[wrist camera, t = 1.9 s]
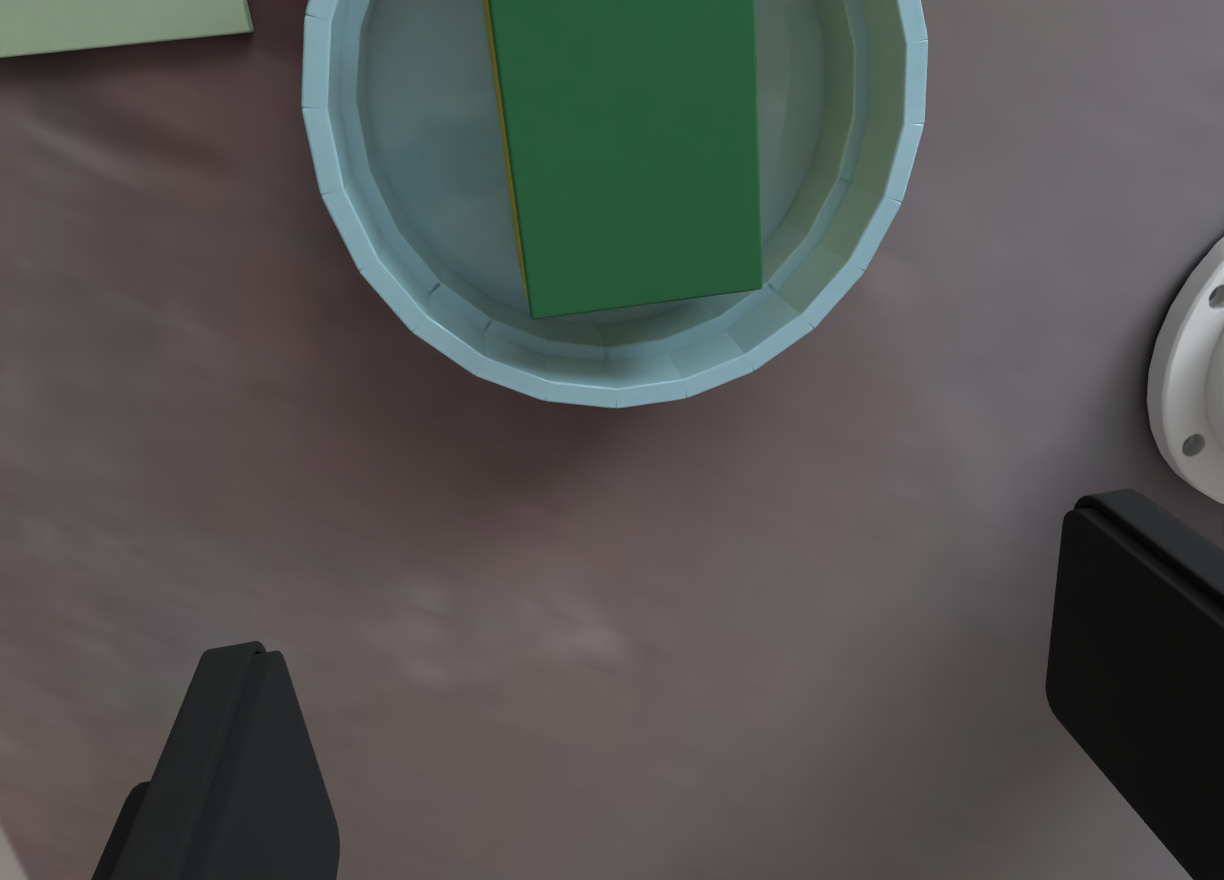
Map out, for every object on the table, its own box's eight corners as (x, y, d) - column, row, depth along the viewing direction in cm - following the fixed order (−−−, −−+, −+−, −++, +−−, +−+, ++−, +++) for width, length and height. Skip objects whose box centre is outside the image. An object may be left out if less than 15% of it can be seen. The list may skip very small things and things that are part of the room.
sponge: (473, -66, 25) (476, -87, 20) (696, -88, 25) (753, -113, 20) (519, 268, 29) (531, 320, 24) (712, 243, 29) (763, 290, 24)
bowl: (671, -356, 23) (720, -445, 19) (937, 157, 30) (1022, 182, 25) (208, 33, 25) (153, 37, 21) (549, 437, 32) (563, 507, 27)
